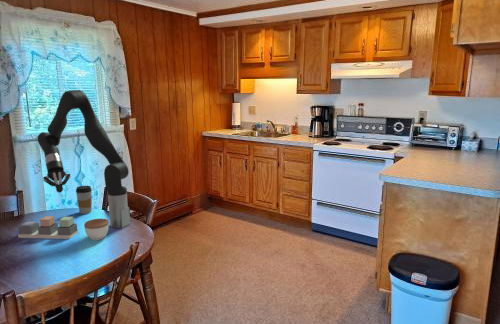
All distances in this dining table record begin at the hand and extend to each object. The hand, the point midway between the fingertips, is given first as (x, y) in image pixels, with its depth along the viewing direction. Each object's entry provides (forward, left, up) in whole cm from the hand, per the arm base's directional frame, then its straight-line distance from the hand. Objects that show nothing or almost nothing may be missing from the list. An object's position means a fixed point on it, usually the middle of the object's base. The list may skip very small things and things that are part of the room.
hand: (60, 191), depth 178 cm
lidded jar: (-26, +3, -19) cm, 32 cm away
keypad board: (-2, +10, -19) cm, 22 cm away
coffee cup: (+8, -22, -19) cm, 31 cm away
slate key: (+7, +13, -17) cm, 22 cm away
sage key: (-11, +7, -14) cm, 19 cm away
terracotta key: (-2, +10, -14) cm, 17 cm away
